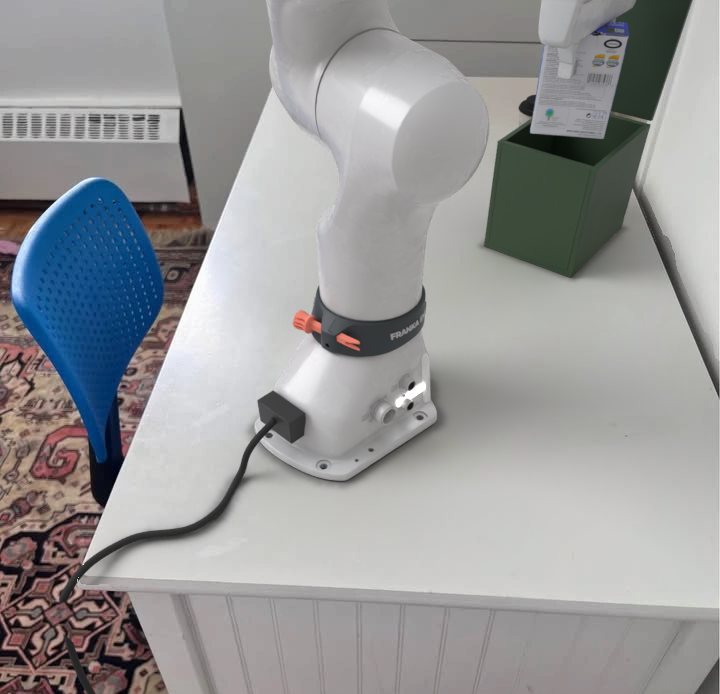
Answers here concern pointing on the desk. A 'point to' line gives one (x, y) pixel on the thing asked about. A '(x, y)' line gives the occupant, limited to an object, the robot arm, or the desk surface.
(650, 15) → the bin lid
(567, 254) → the bin
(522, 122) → the black capped white jar
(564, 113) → the ink cartridge box
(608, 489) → the desk surface
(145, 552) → the desk surface
